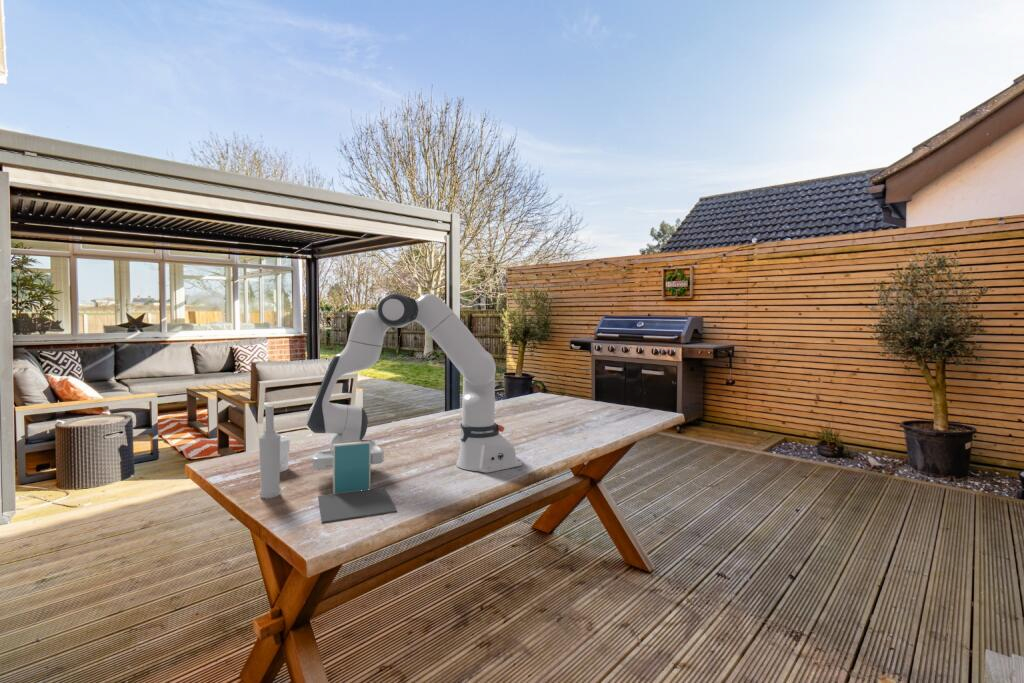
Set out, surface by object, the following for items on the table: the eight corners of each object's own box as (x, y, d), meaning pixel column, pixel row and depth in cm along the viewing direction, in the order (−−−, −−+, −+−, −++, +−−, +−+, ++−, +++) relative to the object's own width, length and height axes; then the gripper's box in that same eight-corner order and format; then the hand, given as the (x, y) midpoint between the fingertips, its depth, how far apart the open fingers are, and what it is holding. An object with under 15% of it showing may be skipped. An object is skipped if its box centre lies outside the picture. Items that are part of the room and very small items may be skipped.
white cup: (260, 474, 149) (259, 443, 148) (265, 466, 156) (265, 436, 156) (287, 473, 151) (287, 441, 150) (292, 465, 158) (292, 435, 158)
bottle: (275, 490, 136) (274, 403, 134) (284, 495, 132) (283, 405, 131) (256, 495, 132) (255, 405, 130) (264, 500, 128) (263, 408, 127)
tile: (369, 488, 139) (369, 440, 138) (370, 490, 138) (370, 442, 137) (333, 492, 135) (333, 444, 134) (333, 494, 134) (333, 445, 133)
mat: (384, 488, 139) (384, 487, 139) (396, 511, 123) (396, 510, 123) (318, 497, 131) (318, 496, 131) (321, 523, 115) (321, 521, 115)
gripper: (310, 446, 145) (312, 458, 133) (379, 439, 154) (387, 451, 141) (310, 466, 146) (312, 481, 133) (379, 459, 154) (386, 472, 142)
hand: (351, 465), depth 137 cm, fingers closed
